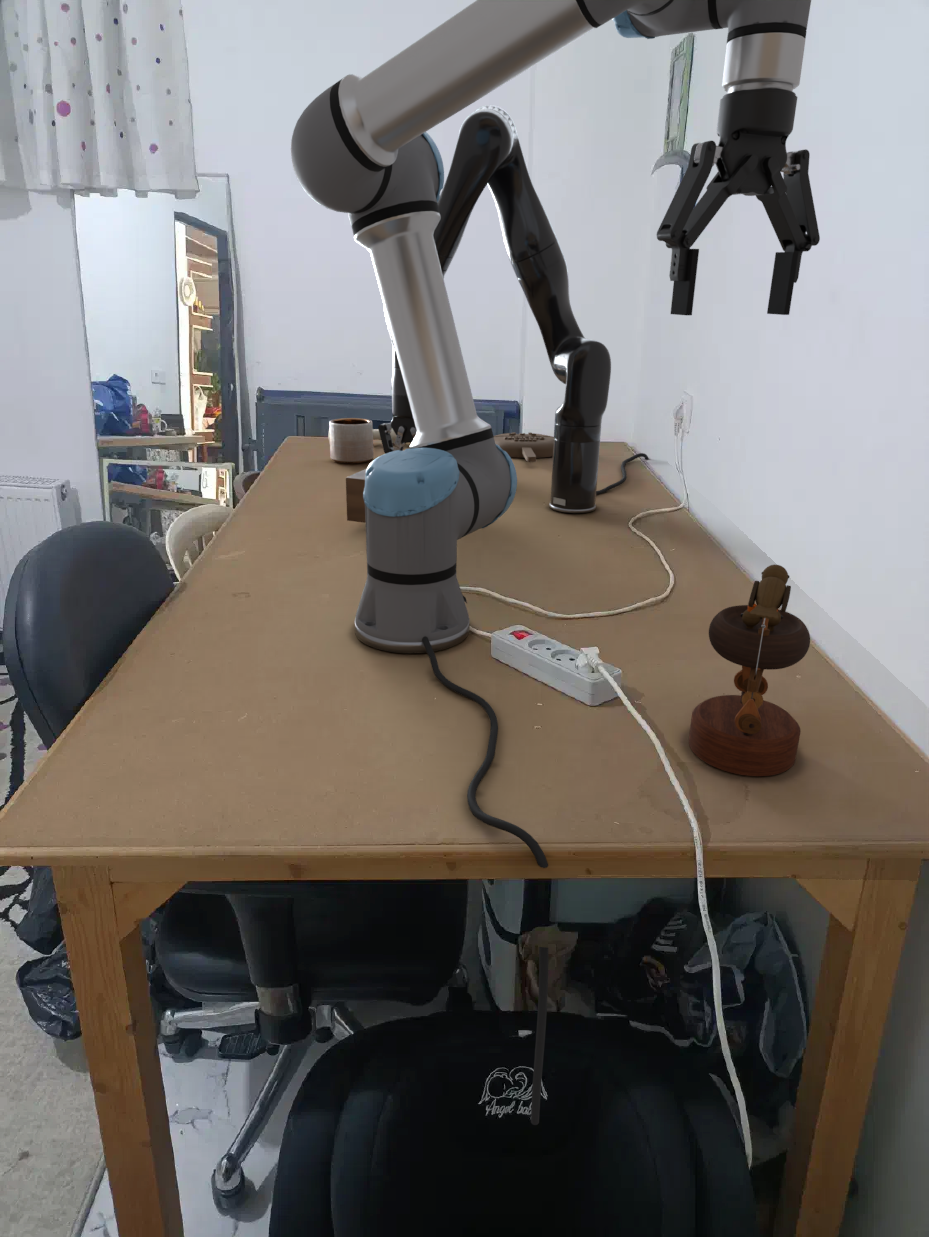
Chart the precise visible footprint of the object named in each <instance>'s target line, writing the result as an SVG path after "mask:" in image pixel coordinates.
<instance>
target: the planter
mask: <svg viewBox="0 0 929 1237" xmlns="http://www.w3.org/2000/svg"><path fill="white" fill-rule="evenodd" d="M328 424H329V425H328V426H329V428H330V442H329V453H330V454H329V455H330V456H329V457H330V459H331V460H332V461H333V462H335V463H341V464H363V463H367V462H371V461H373V460H374V456H375V455H374V452H375V451H374V450H375V449H374V440H373V429H374V428H373V420H371V419H369V418H362V417H361V418H360V417H342V418H341V417H340V418H335V419H334V418H333V419H331V420H329V421H328Z"/></svg>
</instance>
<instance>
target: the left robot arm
mask: <svg viewBox="0 0 929 1237" xmlns="http://www.w3.org/2000/svg"><path fill="white" fill-rule="evenodd" d="M811 5H812V0H475V1H473V2H472V3H470V4H469V5H467V6H466V7H465V8H463V9H461V10H459V12H457V13H455V14H454V15H453V16H451V17H450V18H449V19H447V20H445V21H444V22H443V23H441V24H440V25H438V26H437V27H435V28H434V29H432V30H431V31H429V32H428V33H426V34H425V35H423V36H422V37H420V38H419V39H417V40H416V41H415V42H412V43H411V44H410V45H408V46H407V47H406V48H404V49H403V50H401V51H400V52H398V53H397V54H396V55H394V56H393V57H391V58H390V59H388V60H386V61H385V62H383V64H381V65H379V66H377V67H376V68H375V69H374V70H372V71H371V72H369V73H367V74H366V75H364V76H363V77H361V76H359V75H357V74H353V73H352V74H351V73H349V74H347V75H345V76H344V77H342V78H341V79H339V80H338V81H336V82H335V83H334V84H332V85H331V86H329V87H328V88H326V89H325V90H324V91H323V92H321V93H320V94H319V95H317V96H316V97H315V98H314V99H313V100H312V101H311V102H310V103H309V104H308V105H307V106H306V107H305V108H304V110H303V111H302V112H301V115H299V118H298V119H297V120H296V123H295V126H294V128H293V131H292V135H291V139H290V141H291V142H290V159H291V164H292V170H293V172H294V174H295V177H296V179H297V181H298V183H299V185H300V186H301V188H302V189H303V191H304V192H305V193H306V195H307V196H308V197H310V199H311V200H313V201H314V202H315V203H316V204H318V205H320V206H321V207H323V208H325V209H327V210H330V211H333V212H336V213H344V214H347V216H348V219H349V223H350V227H351V230H352V235H353V239H354V241H355V243H357V244H358V245H360V246H361V247H363V248H365V249H366V250H367V251H368V252H369V253H370V257H371V261H372V265H373V269H374V273H375V277H376V280H377V285H378V288H379V292H380V295H381V300H382V303H383V309H384V308H385V311H386V315H387V319H388V323H389V327H390V331H391V334H392V338H393V342H394V346H395V350H396V353H397V357H398V361H399V365H400V369H401V373H402V376H403V380H404V384H405V388H406V392H407V396H408V399H409V403H410V407H411V411H412V415H413V418H414V422H415V426H416V430H417V432H416V436H415V438H414V440H413V441H412V443H410V445H409V448H404V449H403V451H400V450H396V451H392V452H389V453H386V454H385V453H384V454H381V455H379V456H378V457H376V458H373V459H372V460H371V461H370V463H369V464H368V466H367V467H366V468H367V470H366V473H365V488H364V492H363V498H364V503H365V521H366V523H365V545H366V546H365V548H366V549H365V550H366V579H365V584H364V586H363V589H362V592H361V596H360V600H359V602H358V606H357V609H356V612H355V618H354V633H355V636H356V638H357V639H358V640H359V641H360V642H362V643H363V644H365V645H367V646H368V647H371V648H374V649H377V650H380V651H384V652H390V653H396V654H397V653H398V654H425V653H426V654H427V656H428V658H429V662H430V666H431V669H432V672H433V674H434V676H435V678H436V679H437V680H438V681H439V682H440V683H441V684H442V685H443V686H444V687H446V688H448V689H449V690H451V691H452V692H454V693H456V694H458V695H460V696H463V697H465V698H467V699H469V700H471V701H473V702H475V703H476V704H478V705H479V706H480V707H481V708H482V709H483V710H484V712H485V713H486V715H487V716H488V719H489V724H490V730H489V736H488V741H487V742H488V744H487V749H486V754H485V757H484V759H483V762H482V764H481V765H480V766H479V768H478V770H477V771H476V773H475V774H474V777H473V778H472V779H471V781H470V783H469V785H468V788H467V793H466V799H467V805H468V808H469V810H470V812H471V814H472V815H473V816H474V817H475V818H476V819H477V820H479V821H480V822H482V823H483V824H485V825H488V826H491V827H493V828H495V829H498V830H500V831H504V832H506V833H509V834H511V835H513V836H514V837H517V838H518V839H520V840H521V841H522V842H523V843H524V844H525V845H526V846H527V847H528V848H529V849H530V851H531V852H532V854H533V856H534V858H535V860H536V863H537V865H538V866H539V867H540V868H542V869H547V868H548V867H549V863H548V860H547V856H546V855H545V853H544V851H543V849H542V848H541V846H540V844H539V842H538V841H536V839H535V838H534V837H533V836H532V835H531V834H530V833H529V832H528V831H526V830H525V829H524V828H521V827H519V825H516V824H514V823H512V822H509V821H506V820H503V819H501V818H498V817H495V816H492V815H491V814H487V813H486V812H484V811H483V810H482V808H480V807H479V804H478V802H477V791H478V787H479V785H480V783H481V782H482V781H483V778H484V777H485V775H486V774H487V773H488V770H490V767H491V765H492V764H493V761H494V758H495V754H496V747H497V741H498V736H499V722H498V717H497V715H496V712H495V710H494V708H493V707H492V706H491V704H490V703H489V702H488V701H486V699H484V698H483V697H482V696H480V695H478V694H477V693H475V692H473V691H471V690H469V689H466V688H464V687H462V686H460V685H457V684H456V683H454V682H452V681H451V680H449V679H448V678H447V677H445V675H444V674H443V672H442V671H441V669H440V667H439V663H438V660H437V656H436V654H435V652H439V651H443V650H446V649H449V648H452V647H455V646H457V645H458V644H460V643H462V642H463V641H464V640H466V639H467V637H468V636H469V634H470V616H469V612H468V608H467V606H466V604H468V601H467V598H466V597H465V596H464V595H463V593H462V589H461V586H460V583H459V581H458V577H457V561H458V560H457V559H458V558H457V557H458V556H457V554H458V540H461V539H462V538H464V537H467V536H469V535H471V534H472V533H474V532H476V531H478V530H480V529H482V530H483V529H485V528H487V527H489V526H490V525H493V524H494V523H495V522H496V521H497V520H499V518H501V517H502V516H503V515H505V513H506V512H507V511H508V510H509V508H510V507H511V505H512V504H513V501H514V499H515V497H516V494H517V487H518V475H517V470H516V467H515V464H514V462H513V460H512V457H510V456H509V455H508V453H507V452H506V451H504V450H502V449H501V448H500V446H498V445H497V444H495V440H494V436H495V435H494V432H493V428H492V426H491V424H490V423H488V422H486V421H485V420H484V419H482V418H480V417H479V416H478V414H477V410H476V405H475V401H474V397H473V393H472V389H471V385H470V381H469V377H468V372H467V369H466V368H467V367H466V364H465V360H464V356H463V352H462V348H461V344H460V340H459V335H458V332H457V327H456V323H455V320H454V316H453V311H452V307H451V303H450V299H449V295H448V291H447V286H446V282H445V277H444V278H443V274H442V270H441V266H440V262H439V258H438V254H437V249H436V245H435V241H434V237H433V234H434V230H435V228H436V226H437V225H438V223H439V221H440V219H441V216H440V212H439V208H438V204H437V202H438V201H439V198H440V194H441V191H442V189H443V186H444V184H445V168H444V167H445V166H444V162H443V158H442V155H441V153H440V149H439V147H438V145H437V144H436V143H435V141H434V139H433V138H432V137H431V135H430V134H429V133H428V131H430V130H431V129H433V128H435V127H436V126H438V125H439V124H441V123H442V122H444V121H447V119H449V118H451V117H453V116H455V114H457V113H459V112H461V111H462V110H464V109H466V108H467V107H469V106H471V105H472V104H474V103H475V102H477V101H479V100H480V99H482V98H484V97H485V96H487V95H489V94H491V93H492V92H494V91H495V90H497V89H498V88H500V87H501V86H503V85H505V84H507V83H508V82H510V81H511V80H513V79H514V78H516V77H518V76H520V75H521V74H523V73H524V72H526V71H528V70H530V69H531V68H532V67H534V66H536V65H538V64H539V63H541V62H542V61H544V60H546V59H547V58H549V57H551V56H553V55H554V54H556V53H558V52H559V51H561V50H563V48H565V47H567V46H569V45H571V44H572V43H574V42H576V41H577V40H579V39H580V38H582V37H583V36H586V35H587V34H588V33H590V32H592V31H593V30H595V29H598V28H599V27H601V26H603V25H605V24H606V23H608V22H609V21H611V20H612V21H613V23H614V28H615V30H616V32H617V33H618V34H619V35H620V36H621V37H623V38H626V39H636V38H637V39H638V38H645V39H647V40H652V39H655V38H658V37H664V36H672V35H680V34H689V33H697V32H704V31H710V30H711V31H712V30H713V31H714V30H722V29H723V30H724V29H727V37H726V47H725V56H724V63H723V75H722V81H721V88H722V89H723V91H724V92H726V94H723V96H722V98H720V100H719V109H718V117H717V124H716V125H717V126H716V134H717V136H718V137H719V141H718V144H717V143H716V141H715V140H707V141H701V142H696V143H694V144H693V145H692V146H691V148H690V154H689V160H688V165H687V168H686V170H685V172H684V174H683V177H682V178H681V181H680V183H679V185H678V187H677V189H676V191H675V193H674V195H673V197H672V200H671V202H670V204H669V205H668V208H667V209H666V212H665V215H664V216H663V219H662V221H661V222H660V225H659V227H658V229H657V231H656V239H657V240H658V241H659V242H664V243H665V246H666V248H668V249H671V255H670V257H671V258H670V265H669V266H670V267H669V275H668V276H669V281H670V282H673V286H672V294H671V296H672V298H671V306H670V315H674V316H675V315H677V316H692V315H693V308H694V300H695V290H696V283H697V282H696V281H697V272H698V264H699V263H698V262H699V255H700V248H691V247H693V245H694V244H695V243H696V241H697V240H698V239H699V237H700V236H701V234H702V233H703V232H704V231H705V229H706V228H707V226H708V225H709V224H710V222H712V220H713V218H714V217H715V216H716V214H717V213H718V212H719V211H720V210H721V208H722V207H723V205H724V204H725V203H726V202H727V200H728V199H729V198H730V197H731V196H736V195H744V196H747V197H754V196H755V198H756V199H757V200H758V201H760V202H761V204H762V206H763V208H764V210H765V212H766V215H767V217H768V219H769V221H770V224H771V226H772V229H773V231H774V233H775V235H776V238H777V240H778V242H779V244H780V247H781V249H782V251H776V252H775V255H774V261H773V267H772V268H773V269H772V277H771V283H770V290H769V298H768V302H767V303H768V304H767V311H766V314H767V315H781V316H790V312H791V306H792V299H793V292H794V285H795V284H797V282H798V279H799V275H800V268H801V264H802V263H801V262H802V256H803V253H804V252H809V251H810V250H811V249H812V246H814V247H815V246H818V244H819V243H820V240H821V237H820V231H819V226H818V220H817V216H816V209H815V204H814V197H813V193H812V185H811V180H810V176H809V175H810V174H809V167H810V158H811V157H810V151H809V150H808V149H799V150H793V151H788V152H787V146H786V143H787V139H789V136H790V135H791V134H792V132H793V130H794V124H795V117H796V110H797V103H798V96H797V95H796V92H794V91H793V90H795V89H797V88H798V87H799V86H800V84H801V77H802V76H801V75H802V69H803V60H804V55H805V54H804V53H805V46H806V38H807V29H808V25H809V24H808V23H809V16H810V12H811V11H810V10H811ZM714 166H715V167H716V169H717V172H716V174H715V175H714V176H713V178H712V179H711V180H710V181H709V183H708V184H707V181H708V179H709V176H710V174H711V172H712V170H713V167H714ZM706 184H707V186H706V188H705V189H706V191H705V192H704V193H703V195H702V196H701V193H702V192H703V189H704V187H705V185H706ZM700 196H701V197H700ZM699 198H700V199H699ZM698 199H699V200H698ZM697 201H698V202H697ZM548 991H549V947H545V946H539V947H538V995H537V996H538V997H537V998H538V1001H537V1017H536V1018H537V1019H536V1033H535V1047H534V1060H533V1074H532V1088H531V1089H532V1090H531V1108H530V1123H531V1125H533V1126H538V1124H540V1112H541V1111H540V1110H541V1094H542V1082H543V1081H542V1080H543V1067H544V1056H545V1055H544V1054H545V1043H546V1042H545V1041H546V1031H547V1030H546V1029H547V1014H548V1013H547V1012H548V995H549V994H548Z"/></svg>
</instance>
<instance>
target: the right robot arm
mask: <svg viewBox="0 0 929 1237" xmlns="http://www.w3.org/2000/svg"><path fill="white" fill-rule="evenodd" d="M487 186H488V189H489V190H490V193H491V195H492V198H493V200H494V204H495V208H496V212H497V216H498V221H499V228H500V231H501V236H502V241H503V244H504V248H505V251H506V252H505V253H507V257H508V260H509V262H510V265H511V267H512V270H513V272H514V274H515V276H516V279H517V281H518V283H519V286H520V288H521V290H522V292H523V294H524V297H525V299H526V301H527V303H528V306H529V308H530V311H531V312H532V315H533V316H534V319H535V321H536V323H537V325H538V326H537V327H538V328H539V331H540V334H541V337H542V340H543V344H544V347H545V350H546V354H547V357H548V361H549V363H550V364H549V365H550V367H551V370H552V372H553V374H554V376H555V377H556V378H557V380H558V381H559V382H561V383H562V384H564V385H565V392H564V398H563V402H562V404H561V405H560V406H558V407H556V408H555V413H554V425H553V426H554V427H553V428H554V429H553V437H554V445H553V456H552V465H551V481H550V501H549V509H551V510H553V511H555V512H560V513H564V514H587V513H592V512H594V511H595V510H596V507H597V504H596V502H597V501H596V500H597V495H602V494H605V493H607V492H608V491H610V490H612V489H615V488H617V487H620V486H621V485H623V484H624V483H625V482H626V481H627V478H628V476H627V471H626V470H627V469H626V468H625V466H626V465H627V464H628V463H630V462H632V461H634V460H636V459H639V458H644V460H650V459H649V456H648V455H647V454H646V453H643V452H640V453H636V454H634V455H632V456H631V457H628V458H626V459H624V460H623V461H622V462H621V464H620V470H621V475H622V478H621V479H620V480H618V481H616V482H614V483H611V484H609V485H607V486H606V487H604V488H602V489H599V490H598V488H597V487H598V477H599V476H598V474H599V462H600V450H601V449H600V447H601V434H602V422H603V416H604V413H605V412H606V409H607V407H608V400H609V393H610V384H611V375H612V358H611V354H610V351H609V349H608V348H607V347H606V345H605V344H603V343H602V342H601V341H599V340H596V339H591V338H586V337H585V336H584V334H583V333H582V330H581V329H580V326H579V324H578V321H577V319H576V317H575V314H574V313H573V310H572V306H571V305H572V304H571V300H570V281H569V270H568V264H567V261H566V258H565V255H564V253H563V250H562V248H561V245H560V243H559V240H558V238H557V234H556V233H555V230H554V228H553V226H552V224H551V221H550V219H549V216H548V214H547V212H546V210H545V208H544V205H543V203H542V201H541V199H540V197H539V195H538V193H537V191H536V189H535V186H534V184H533V182H532V178H531V176H530V173H529V170H528V167H527V163H526V160H525V156H524V153H523V150H522V145H521V142H520V138H519V135H518V131H517V128H516V125H515V122H514V120H513V118H512V117H511V116H510V114H509V113H508V112H507V111H506V110H505V109H503V108H502V107H500V106H498V105H493V104H492V105H490V104H489V105H483V106H480V107H478V108H477V109H475V110H474V111H473V112H471V113H470V114H469V115H468V116H467V117H466V118H465V119H464V121H463V122H462V124H461V126H460V128H459V131H458V138H457V141H456V144H455V147H454V153H453V156H452V159H451V163H450V166H449V170H448V173H447V176H446V179H445V180H444V185H443V189H441V191H440V198H439V201H438V202H437V204H438V208H439V212H440V216H441V219H440V221H439V223H438V225H437V226H436V228H435V230H434V234H433V237H434V241H435V245H436V249H437V254H438V258H439V262H440V266H441V270H442V274H443V278H444V279H445V276H446V274H447V271H448V270H449V268H450V265H451V264H452V262H453V259H454V257H455V255H456V253H457V251H458V249H459V247H460V244H461V242H462V239H463V236H464V234H465V231H466V228H467V225H468V223H469V221H470V217H471V215H472V212H473V211H474V208H475V207H476V204H477V202H478V200H479V198H480V197H481V195H482V193H483V192H484V190H485V188H486V187H487ZM383 312H384V317H385V323H386V325H387V330H388V334H389V338H390V341H391V344H392V373H391V375H392V376H391V387H390V390H391V414H392V419H391V421H390V422H383V423H381V424H379V425H378V426H377V429H379V433H380V437H381V440H380V441H381V445H382V449H383V452H384V454H386V453H389V452H392V451H396V450H400V451H404V450H405V447H406V444H407V443H409V444H411V443H412V441H413V440H414V438H415V436H416V432H417V430H416V426H415V422H414V418H413V415H412V411H411V407H410V403H409V399H408V396H407V392H406V388H405V384H404V380H403V376H402V373H401V369H400V365H399V361H398V357H397V353H396V350H395V346H394V342H393V338H392V334H391V331H390V327H389V323H388V319H387V315H386V311H385V308H384V307H383ZM391 429H393V431H394V432H395V434H396V435H397V437H396V440H395V443H392V438H391V434H390V433H391V431H392V430H391Z"/></svg>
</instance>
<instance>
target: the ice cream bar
mask: <svg viewBox="0 0 929 1237" xmlns="http://www.w3.org/2000/svg"><path fill="white" fill-rule="evenodd" d="M493 436H494V440H495V444H497V445H498V446H500V448H501V449H502V450H504V451H506V452H507V453H508V455H509V456H510V458H523V459H525V461H526V462H532V463H533V462H536V461H537V459H538V458H550V457H553V445H554V436H552V435H547V434H542V433H534V432H528V433H525V432H523V433H522V432H519V433H517V432H514V431H513V432H506V433H500V434H496V435H495V434H494V435H493Z"/></svg>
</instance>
